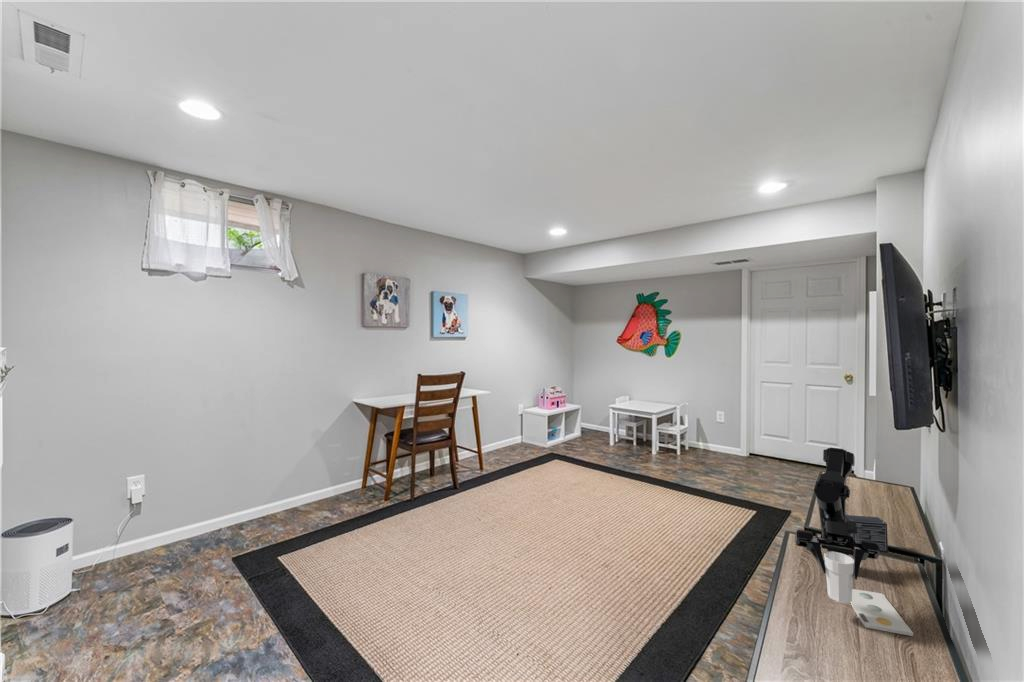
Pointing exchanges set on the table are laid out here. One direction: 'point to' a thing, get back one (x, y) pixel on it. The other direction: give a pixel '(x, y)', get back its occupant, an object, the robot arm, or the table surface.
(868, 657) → the table surface
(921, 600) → the table surface
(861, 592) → the indicator panel
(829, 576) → the cup
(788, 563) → the table surface
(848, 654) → the table surface
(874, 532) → the small box
